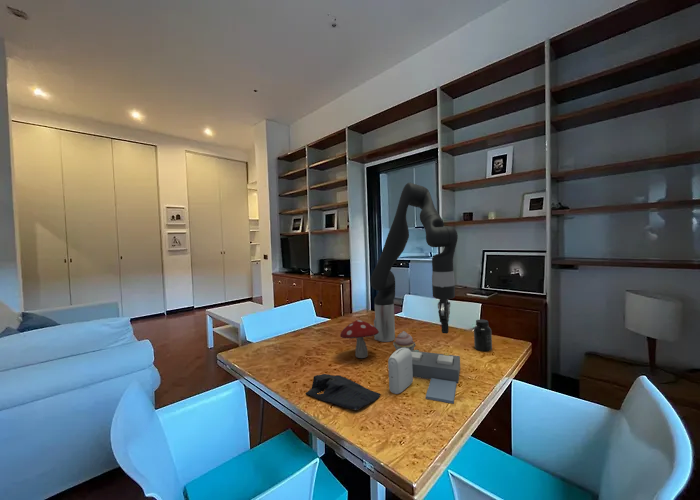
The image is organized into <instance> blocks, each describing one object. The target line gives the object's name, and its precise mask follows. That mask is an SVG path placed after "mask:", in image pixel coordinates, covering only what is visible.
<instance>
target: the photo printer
mask: <svg viewBox="0 0 700 500" xmlns="http://www.w3.org/2000/svg"><path fill="white" fill-rule="evenodd" d="M387 363H388V364H387V365H388V387H389V391H390V392H391V393H392V394H395V395H399V394H401V393H402V392H404V391H405V390H406V389H407V388H408V387H409V386H411V384H412V383H413V381H414V377H413V368H412V353H411V351H410V349H408V348H400V349H398V350H396V349H395V351H393V353H392V354H391V355H390V356H389V357H388V361H387Z"/></svg>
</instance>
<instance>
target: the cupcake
mask: <svg viewBox="0 0 700 500" xmlns="http://www.w3.org/2000/svg"><path fill="white" fill-rule="evenodd" d="M392 344H393V346H394V348H395V351H396V350H398V349H400V348H408V349H410V350H412V351H414V350H415V348H416V346H417V344H416V342H415V341H414V340H413V336H411V334H410V333H407V332H406V331H404V330H403V331H402V332H400V333H398V334H397V336H395V339H394V341H393V342H392Z"/></svg>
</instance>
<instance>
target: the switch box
mask: <svg viewBox="0 0 700 500" xmlns="http://www.w3.org/2000/svg"><path fill="white" fill-rule="evenodd" d="M410 351H411V352H420V353H422V359H421V361H414V360H412V368H413V378H419V379H424V380H431V378H435V379H441V380H448V381H455V382H456V385H457V384H459V380H460V373H461V372H460V371H461V355H455V354H450V353H448V352H444V353H437V352H436V353H435V352H429V351H428V352H427V351H420V350H419V349H414V350H413V351H412V350H410ZM439 355H445V356H453V365H446V364H438V363H437V359H438V356H439Z"/></svg>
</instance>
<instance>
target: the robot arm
mask: <svg viewBox="0 0 700 500" xmlns="http://www.w3.org/2000/svg"><path fill="white" fill-rule="evenodd" d="M409 206H412V207H413V208H414V207H415V208H419V209H420V213H419V220H420V223H421V225H422V226H423V229H424V232H425V241H426V244H427V246H429V247H431V248H444V249H443V251H442V252H439V253H437V254H434V255H432V257H431V267H432V269H431V271H432V273H431V288H432V289H431V290H432V298H435V299H438V300H439V301H438V303H437V309H438V316H439V322H440V323H441V325H440V326H441V333H442V334H447V335H448V333H449V321H450V313H451V309H450V308H451V302H450V301H449V300H451V299H454V298H455V297H456V286H455V285H456V284H455V283H456V282H455V274H454V255H455V250H456V248H457V242H458V239H459V238H458V237H459V236H458V231H457V229H456V228H455V227H453V226H445V223H444V220H443V218H442V217H441V216H440V214H439V213H438V211H437V209H436V207H435V205H434V201H433V198H432V196H431V192H430V190H429V189H428V188H427V187H425V186H422V185H419V184H417V183H414V182H413V183H412V182H407V183H406V184H405V185H404V186H403V188H402V191H401V193H400V197H399V200H398V203H397V208H396V212H395V215H394V217H393V220H392V224H391V226H390V229H389V231H388V233H387V236H386V239H385V243H384V245H383V248H382V250H381V254H380V256H379V259H378V261H377V263H376V265H375V267H374V269H373V271H372V274H371V276H370V285H371V287H372V289H373V290H375V291H377V292H378V293H377V294H376V295H375V297H374V319H373V326H374V327H375V328H376V329H378V331H379V333H378V334H377V335H374V340H376V341H379V342H383V343H384V342H387V343H388V342H392V341H393V342H394V341H395V339H396V330H395V329H396V327H395V326H396V325H395V304H394V303H395V298H396V277H395V274H394V273H393V271H391V269H392V268H393V265H394V264H395V263H396V262H397V260H398V258H399V257H401V255H402V254H403V252H404V250H405V248H406V246H407V243H408V240H409V237H410V231H409V226H408V221H407V212H408V208H409Z"/></svg>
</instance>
